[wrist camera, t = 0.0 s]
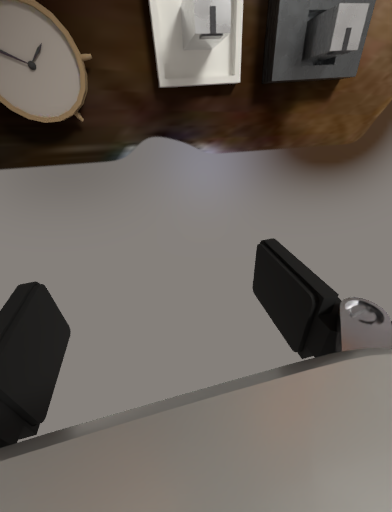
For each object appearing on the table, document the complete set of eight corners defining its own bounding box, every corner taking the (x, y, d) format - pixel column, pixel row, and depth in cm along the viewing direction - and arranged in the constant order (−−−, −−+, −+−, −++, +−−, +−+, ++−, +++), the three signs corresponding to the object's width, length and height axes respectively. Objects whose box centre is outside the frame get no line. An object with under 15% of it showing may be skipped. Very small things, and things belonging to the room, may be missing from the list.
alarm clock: (81, 138, 30) (-86, 80, 22) (81, 133, 33) (-62, 82, 25) (95, 33, 25) (-114, -89, 17) (93, 41, 28) (-79, -57, 21)
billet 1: (180, 6, 27) (192, -25, 21) (211, 6, 27) (231, -24, 22) (183, 51, 29) (195, 35, 23) (212, 50, 30) (230, 34, 24)
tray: (142, -42, 24) (143, -51, 23) (239, -39, 26) (244, -46, 25) (159, 87, 31) (160, 86, 30) (236, 83, 33) (240, 82, 31)
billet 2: (300, 24, 30) (340, 2, 24) (326, 24, 31) (370, 3, 25) (295, 63, 33) (330, 52, 27) (318, 62, 33) (357, 51, 27)
